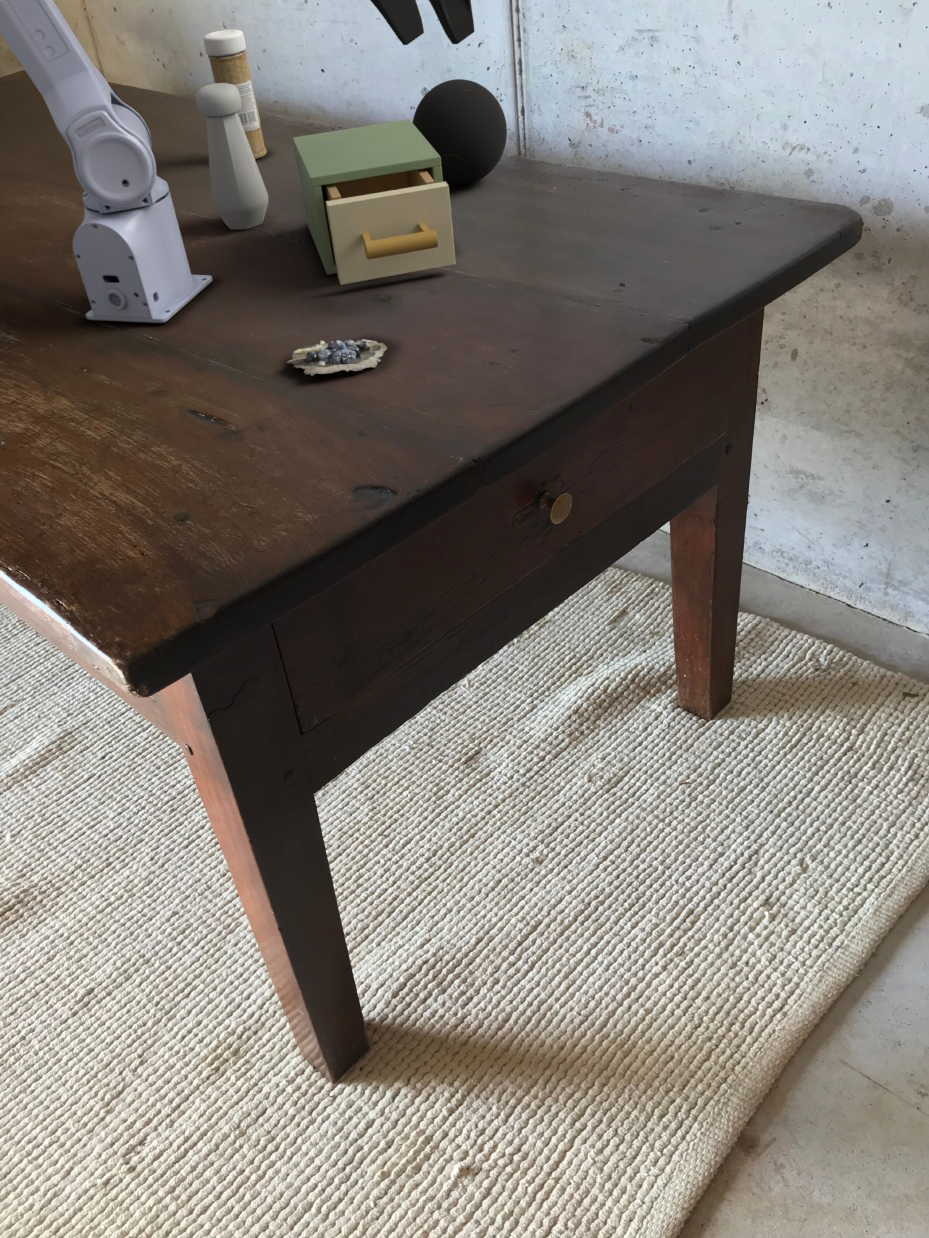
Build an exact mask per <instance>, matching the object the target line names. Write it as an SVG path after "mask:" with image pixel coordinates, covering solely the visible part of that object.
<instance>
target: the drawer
mask: <svg viewBox="0 0 929 1238" xmlns="http://www.w3.org/2000/svg"><path fill="white" fill-rule="evenodd" d="M321 189H322V195H323V201H324V207H325V213H326V219H327V225H328V231H329V237H330V240H331V242H332V244H333V249H334V255H335V261H336V267H337V273H336V274H337V278H338V282H339V284H340V285H341V286H342V285H348V284H354V283H359V282H365V281H370V280H376V279H382V278H387V277H392V276H398V275H404V274H409V273H414V272H421V271H426V270H432V269H438V268H443V267H448V266H455V265H456V264H457V263H456V251H455V242H454V230H453V228H454V227H453V220H452V219H453V218H452V207H451V196H450V187H449V183H446V182H440V183H434V180H433V179H432V177H431V176H430V175H429V174H428V172H427V171H426V170H425V168H424V169H418V170H412V171H406V172H400V173H394V174H388V175H381V176H375V177H369V178H363V179H357V180H351V181H345V182H339V183H333V184H327V185H321Z"/></svg>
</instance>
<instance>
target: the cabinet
mask: <svg viewBox="0 0 929 1238" xmlns="http://www.w3.org/2000/svg"><path fill="white" fill-rule="evenodd" d="M292 145H293V150H294V156H295V160H296V167H297V172H298V178H299V184H300V189H301V194H302V199H303V204H304V210H305V216H306V223H307V227H308V230H309V232H310V235H311V237H312V239H313V242H314V245H315V247H316V250H317V252H318V255H319V257H320V260H321V263H322V265H323V267H324V270H325V273H326V275H327V276H328V275H335V274H338V273H337V267H336V261H335V255H334V249H333V244H332V242H331V240H330V237H329V231H328V225H327V219H326V213H325V207H324V201H323V195H322V189H321V185H327V184H333V183H339V182H345V181H351V180H357V179H363V178H369V177H375V176H381V175H388V174H394V173H400V172H406V171H412V170H418V169H424V168H425V170H426V171H427V172H428V174H429V175H430V176H431V177H432V179H433V180H434V183H440V182H443V177H442V167H441V157H440V156H439V154H438V153H437V152H436V151H435V150H434V148H433V147H432V146H431V145H430V143H429V142H428V141H427V140H426V139H425V137H424V136H423V135H422V134H421V133H420V131H419V130H418V129H417V128H416V127H415V125H414V124H413V121H412V120H410V119H409V118H408V119H402V120H395V121H389V122H382V123H376V124H371V125H364V126H357V127H351V128H350V127H349V128H345V129H337V130H332V131H326V132H325V131H324V132H319V133H312V134H307V135H299V136H295V137H292Z"/></svg>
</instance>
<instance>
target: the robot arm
mask: <svg viewBox="0 0 929 1238" xmlns="http://www.w3.org/2000/svg"><path fill="white" fill-rule="evenodd" d="M369 1H370V2H371V3H372V5H374V7H375V8H376V9H377V10H378V12H379V13H380V14H381V16H382V17H383V19H384V20H385V22H386V23H387V24H388V26H389V28H390V29H391V30H392V32H393V33H394V34H395V36H396V37H397V39H398V40H399V42H400V43H401V44H402V45H403V46H408V45H410V44H411V43H412V42H414V41H415V40H417V39H418V38H419V37H420V36H422V35H424V34H425V31H424V30H425V29H424V25H423V24H424V23H423V18H422V16H421V12H420V9H419V6H418V3H417V0H369ZM428 1H429V3H430V5H431V7H432V10H433V11H434V13H435V15H436V17H437V19H438V21H439V24H440V25H441V28H442V30H443V31H444V34H445V35H446V37H447V39H448V40H449V41H450V42H451V44H452V45H458V44H460V43H461V42H463V41H464V40H465V39H467V38H468V37H470V36H471V35H472V34H473V33H475V22H474V15H473V8H472V0H428ZM0 35H1V36H2V38H3V40H4V41H5V43H6V44H7V45H8V47H9V48H10V50H11V51H12V53H13V54H14V56H15V58H16V59H17V61H18V62H19V63H20V65H21V67H22V68H23V69H24V71H25V72H26V74H27V75H28V77H29V79H30V80H31V81H32V83H33V85H34V86H35V88H36V89H37V90H38V92H39V93H40V95H41V97H42V98H43V100H44V103H45V104H46V106H47V109H48V111H49V113H50V115H51V118H52V120H53V122H54V124H55V126H56V128H57V130H58V132H59V134H60V135H61V137H62V138H63V139H64V141H65V143H66V144H67V146H68V149H69V151H70V153H71V154H70V155H71V157H72V165H73V170H74V174H75V177H76V178H77V182H78V183H79V184H80V186H81V188H82V189H83V190H84V191H83V193H82V194H81V196H82V197H81V200H82V203H83V206H84V216H83V220H82V222H81V224H80V225H79V226H78V227H77V229H76V230H75V231H74V234H73V238H72V243H71V244H72V253H73V257H74V261H75V263H76V266H77V269H78V272H79V275H80V278H81V281H82V284H83V287H84V290H85V294H86V296H87V299H88V302H89V305H90V308H91V309H90V310H89V311H87V312H86V313H85V318H86V320H88V321H102V322H103V321H107V322H125V323H127V322H129V323H148V324H149V323H151V324H164V323H166V322H168V321H169V320H171V318H173V316H175V315H176V314H177V313H178V312H179V311H180V310H181V309H182V308H184V307H185V306H186V305H187V304H188V303H189V302H190V301H192V300H193V299H194V298H195V297H197V295H198V294H200V293H201V292H202V291H203V290H204V289H205V288H207V286H209V285H210V284H211V283H212V282H213V276H212V275H209V274H192V272H191V268H190V267H191V266H190V263H189V260H188V255H187V252H186V249H185V245H184V241H183V238H182V233H181V230H180V225H179V221H178V219H177V214H176V210H175V207H174V206H175V205H174V203H173V199H172V194H171V191H170V187H169V184H168V182H167V181H166V180H165V179H163V178H161V177H160V176H158V175H157V164H156V159H155V156H154V152H153V150H152V145H153V144H152V143H153V142H152V135H151V132H150V130H149V127H148V124H147V123H146V121H145V120H144V118H143V117H142V115H141V114H139V112H137V110H136V109H134V108H133V107H131V106H130V105H128V104H127V103H125V102H124V101H123V100H122V99H120V98H119V97H118V96H117V94H115V92H114V90H113V89H112V88H111V85H109V83H108V81H107V79H106V78H105V77H104V76H103V74H102V73H101V71H99V69H98V68H97V67H96V66H95V65H94V63H93V62H92V61H91V59H90V58H89V56H88V54H87V52H86V51H85V49H84V48H83V46H82V44H81V42H80V41H79V40H78V38H77V37H76V35H75V33H74V32H73V30H72V29H71V27H70V25H69V24H68V22H67V20H66V19H65V17H64V15H63V13H62V12H61V11H60V8H59V7H58V6H57V4H56V3H55V1H54V0H0Z"/></svg>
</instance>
